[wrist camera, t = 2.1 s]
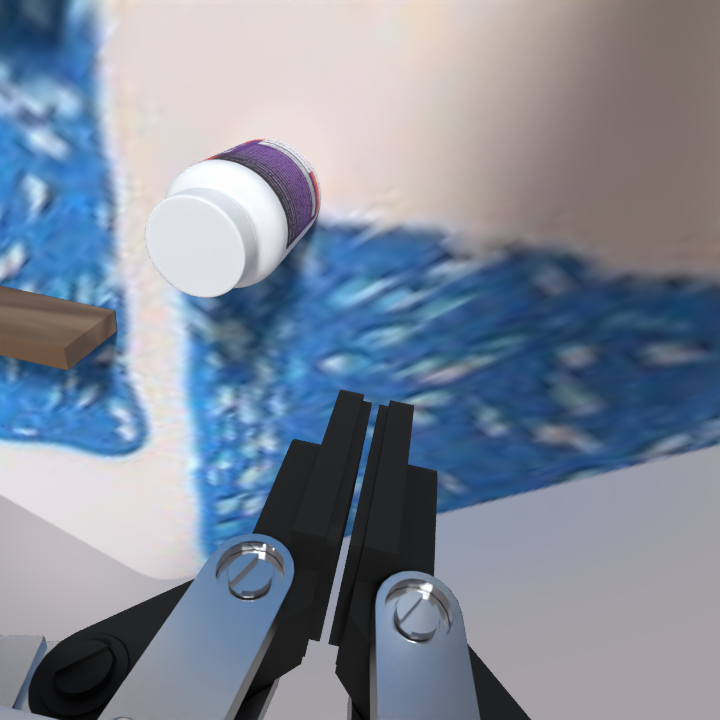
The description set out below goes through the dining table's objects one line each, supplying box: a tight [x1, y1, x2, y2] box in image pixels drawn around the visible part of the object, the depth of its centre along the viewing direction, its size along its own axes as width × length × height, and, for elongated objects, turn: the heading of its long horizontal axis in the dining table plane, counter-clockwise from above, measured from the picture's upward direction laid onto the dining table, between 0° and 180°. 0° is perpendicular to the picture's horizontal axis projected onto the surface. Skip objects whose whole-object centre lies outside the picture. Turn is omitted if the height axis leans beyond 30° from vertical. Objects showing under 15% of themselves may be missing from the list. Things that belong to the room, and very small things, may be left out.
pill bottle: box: [145, 138, 321, 298], centre depth 23 cm, size 5×5×10 cm
